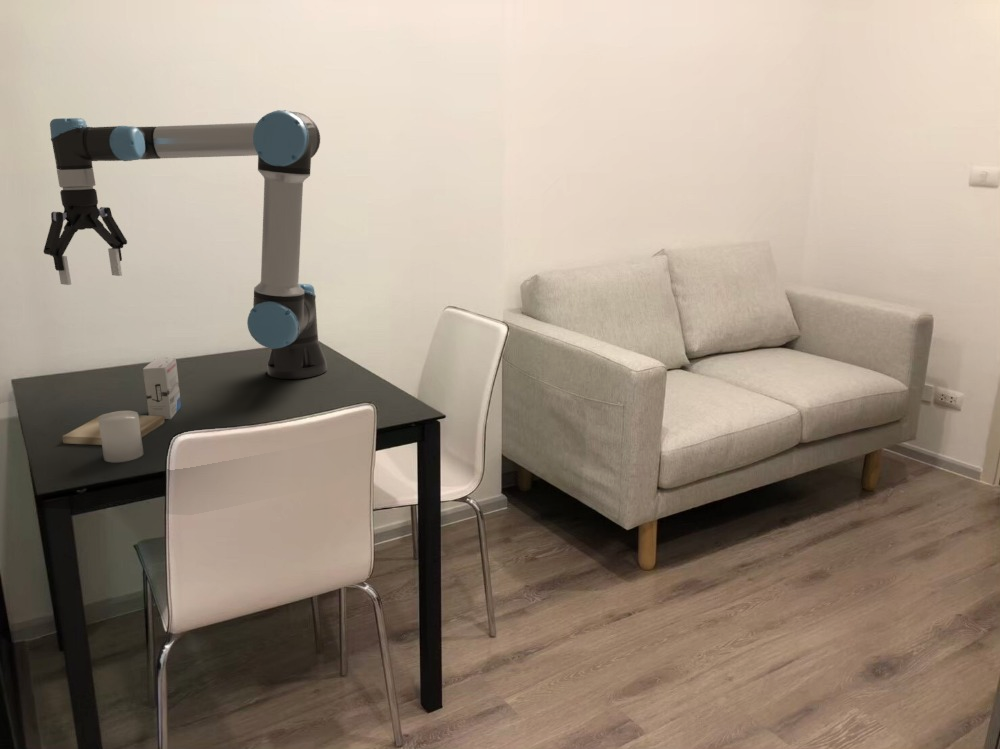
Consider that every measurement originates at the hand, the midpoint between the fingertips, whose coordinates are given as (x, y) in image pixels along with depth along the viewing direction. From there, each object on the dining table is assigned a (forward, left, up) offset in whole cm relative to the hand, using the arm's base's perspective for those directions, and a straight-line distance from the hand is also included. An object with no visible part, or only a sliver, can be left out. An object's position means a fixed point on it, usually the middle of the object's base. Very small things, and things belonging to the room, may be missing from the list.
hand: (92, 279), depth 198 cm
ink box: (-25, +18, -27) cm, 41 cm away
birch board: (-21, +31, -27) cm, 46 cm away
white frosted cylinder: (-30, +43, -27) cm, 58 cm away
